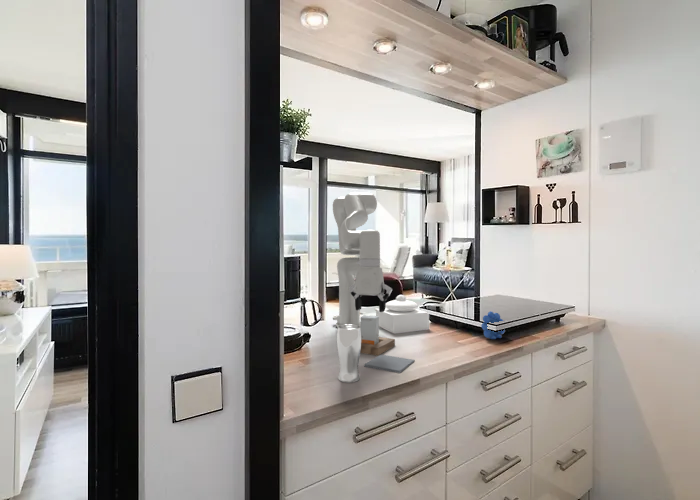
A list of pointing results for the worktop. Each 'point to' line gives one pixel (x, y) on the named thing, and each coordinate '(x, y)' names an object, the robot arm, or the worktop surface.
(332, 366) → the worktop surface
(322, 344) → the worktop surface
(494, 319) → the grapes
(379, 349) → the walnut collar
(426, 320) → the butter dish
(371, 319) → the skincare box
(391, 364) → the slate mat
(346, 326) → the beer glass
